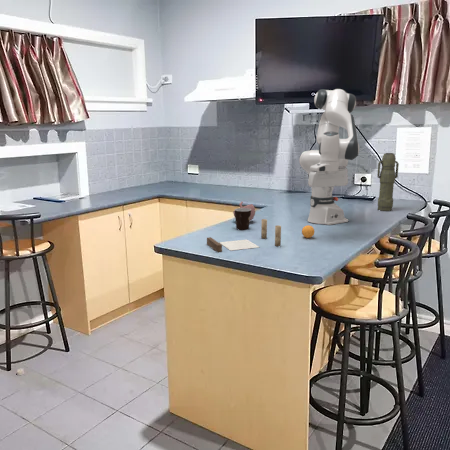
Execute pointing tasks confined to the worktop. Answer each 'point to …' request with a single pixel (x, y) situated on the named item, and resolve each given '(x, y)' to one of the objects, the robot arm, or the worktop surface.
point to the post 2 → (277, 235)
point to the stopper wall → (214, 244)
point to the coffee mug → (242, 218)
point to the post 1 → (264, 229)
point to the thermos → (387, 181)
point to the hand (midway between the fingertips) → (327, 195)
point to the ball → (308, 231)
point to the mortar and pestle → (248, 208)
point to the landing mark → (239, 245)
